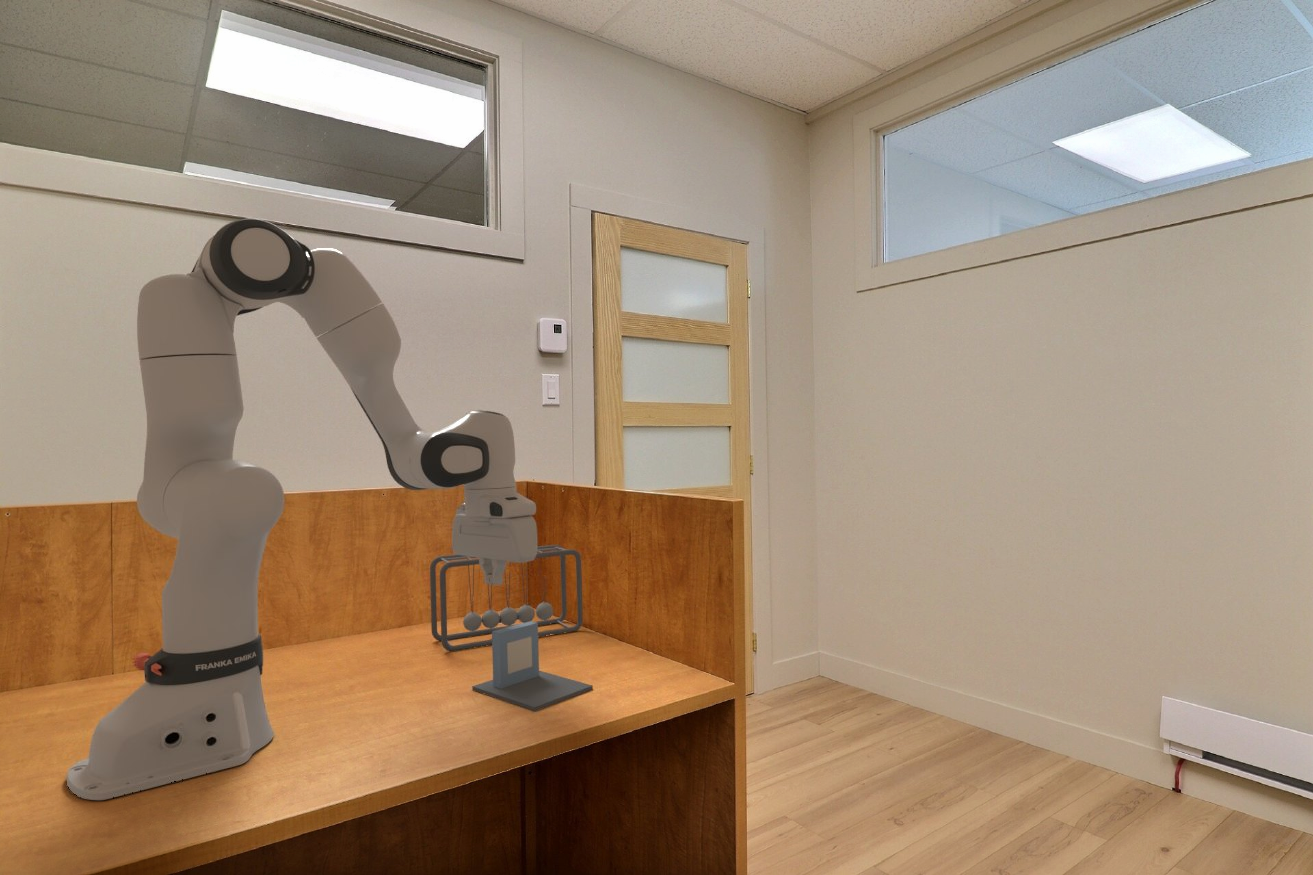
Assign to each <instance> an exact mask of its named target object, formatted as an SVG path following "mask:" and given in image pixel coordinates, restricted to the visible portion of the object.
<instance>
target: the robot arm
mask: <svg viewBox="0 0 1313 875" xmlns="http://www.w3.org/2000/svg"><path fill="white" fill-rule="evenodd" d="M138 296H139V297H138V303H137V304H138V305H137V315H136V316H137V317H136V322H137V323H136V330H137V331H136V332H137V333H136V335H137V337H136V338H137V349H138V350H137V351H138V358H139V359H138V360H139V365H140V374H141V380H142V387H143V396H144V404H145V410H146V412H145V414H146V441H145V442H146V443H145V453H144V463H143V464H144V465H143V480H142V482H141V485H140V486H139V488H138V492H137V496H136V505H137V510H138V513H139V514H140V517H141V518H142V519H143V520H144V521H145V522H146V523H147V524H148V525H149V526H151V528H153V529H155V530H156V531H158V532H159V533H161V534H163V535H164V536H167V537H171V538H174V539H177V546H176V550H175V551H176V552H175V554H174V555H175V557H174V560H173V565H172V568H171V572H170V574H169V578H168V579H167V581H166V583H165V584H164V586H163V587H162V592H161V622H162V625H161V628H162V630H161V633H162V647H161V649H160V650H158V651H157V652H156V653H154V654H153V655H151V654H149V653H147V652H140V653H138V654H136V655H135V657H133V659H132V664H133V666H134V667H135V669H138V670H140V671H144V674H143V675H144V681H145V682H144V683H142V685H140V686H139V687H138V688H137V689H136V690H135V691H133V692H132V693H130V695H129V696H127V697H126V698H125V699H124V700H122V702H120V703H119V704H117V705H116V706H115V707H114V708H113V709H111V710H110V711H109V712H108V713H107V714H105V715H104V716H103V717H102V718H101V719H100V720H99V721H98V723H97V725H96V727H95V728H94V731H93V734H92V737H91V741H90V745H89V751H88V757H87V758H83V759H82V760H78V761H77V762H75V763H74V764H72V766H70V767H69V769H68V770H67V772H66V779H65V782H66V781H67V785H66V787H67V786H68V787H69V789H70V790H71V791H72V792H73V793H74V794H76V795H77V796H76V795H75V796H76V797H79V798H80V797H81V799H85V800H91V801H104V800H110V799H113V797H114V798H117V797H121V796H125V795H129V794H133V793H137V792H140V790H141V791H144V790H149V789H152V788H156V787H160V786H163V785H168V784H171V782H172V783H175V782H174V781H176V782H179V781H182V779H183V780H187V779H191V778H195V777H199V776H203V775H206V773H207V774H209V773H211V774H212V773H214V772H218V771H222V770H225V769H229V768H233V767H238V766H240V765H243V764H245V763H246V762H248V761H249V760H250V758H251V757H252V755H253V754H254V753H255V752H257V751H258V750H260V749H261V748H263V747H265V746H266V745H268V744H269V743H270V741H272V739H273V738H274V737H275V734H274V730H273V728H272V725H271V723H270V718H269V716H268V712H267V708H266V703H265V699H264V693H263V692H264V691H263V685H262V675H263V667H264V647H263V646H264V645H263V643H262V642H263V641H262V636H261V635H260V634H259V612H258V611H259V608H258V607H259V601H258V597H259V595H258V594H259V593H258V592H259V591H258V590H259V578H260V570H261V565H262V562H263V556H264V553H265V549H266V545H267V542H268V538H269V535H270V532H271V531H272V530H273V528H274V526H276V524H277V523H278V522H279V520H280V518H281V516H282V514H283V511H284V508H285V493H284V489H283V486H282V484H281V483H280V480H278V478H277V477H276V476H275V475H274V474H273V473H272V472H271V471H269V470H267V469H265V468H263V467H261V466H258V465H257V464H254V463H251V462H249V461H245V460H242V459H233V455H234V454H233V453H234V446H235V438H236V434H237V428H238V426H239V423H240V422H241V420H242V418H243V415H244V402H243V392H242V387H241V386H242V384H241V378H240V370H239V363H238V355H237V354H238V353H237V349H236V348H237V347H236V342H235V337H234V330H235V329H234V328H235V322H236V318H237V316H241V315H244V314H248V313H252V312H255V311H258V310H260V309H262V308H264V307H267V306H270V305H272V304H274V303H282V304H284V305H287V306H288V307H290V308H291V309H293V311H296V312H297V313H298V314H299V316H300V317H301V318H302V319H304V321H305V322H306V324H307V326H308V327H309V329H310V330H311V332H312V334H313V335H314V337H315V338H316V340H317V341H318V343H319V344H320V346H321V347H322V348H323V350H324V351H325V352H326V354H327V355H328V357H329V358H330V359H331V361H332V363H333V365H335V367H336V368H337V369H338V371H339V372H340V374H341V375H342V377H343V379H345V381H346V383H347V384H348V386H349V388H350V389H351V391H352V394H354V397H355V399H356V400H357V402H358V403H359V405H360V408H361V409H362V411H363V412H364V413H365V416H366V417H367V419H368V420H369V422H370V424H371V426H372V427H373V429H374V431H375V432H376V434H377V437H378V438H379V439H380V441H381V443H382V447H383V450H384V454H385V458H386V465H387V469H388V471H389V474H390V475H391V477H392V479H393V480H394V481H395V482H396V483H397V484H398V485H399V486H401V487H402V488H405V489H407V490H411V491H423V490H428V489H429V490H445V489H446V490H448V489H454V488H456V487H459V486H463V492H464V493H463V494H464V503H460V504H459V506H458V508H457V509H456V510H455V516H454V518H453V521H452V531H451V549H452V551H453V553H454V554H453V555H455V554H456V555H463V556H470V557H478V558H477V559H479V564H478V565H479V567H480V568H481V571H482V573H483V577H484V578H483V579H484V584H486V585H492V586H500V585H501V586H502V585H503V583H504V579H503V574H505V571H506V567H507V565H508V562H509V563H510V562H511V563H518V564H521V563H522V564H523V563H527V562H528V563H529V562H532V561H534V560H535V559H536V558H535V557H536V555H537V547H538V528H537V527H538V526H537V522H536V520H535V518H534V517H533V516H534V515H535V514H536V513H537V505H536V502H535V501H533V500H531V499H529V498H527V497H526V496H524V495H522V494H521V493H519V492H517V482H516V480H515V476H514V475H515V474H514V473H515V472H514V470H515V469H514V468H515V464H516V447H515V437H514V432H513V428H512V427H513V426H512V423H511V421H510V419H509V418H508V417H507V416H505V415H504V414H502V413H500V412H496V411H492V410H479V409H478V410H475V409H474V410H470V411H467V412H466V413H465V415H463V416H462V417H461V418H459V419H458V420H456V421H455V422H453V423H451V424H448V425H447V426H445V427H443V428H440V429H437V430H435V431H429V432H428V431H426V430H425V429H423V428H421V427H420V426H419V425H418V424H417V423H416V422H415V420H414V418H413V416H412V415H411V413H410V410H409V409H408V407H407V406H406V403H405V402H404V400H403V399H402V397H401V395H400V393H399V391H398V390H397V388H396V384H395V381H394V368H395V364H396V363H397V360H398V358H399V355H400V353H401V348H402V347H401V346H402V339H401V336H400V333H399V330H398V328H397V326H396V324H395V321H394V319H393V317H392V315H391V313H390V312H389V310H388V308H387V307H386V306H385V304H384V303H383V301H382V300H381V298H380V297H379V294H378V293H377V292H376V291H375V289H374V287H373V286H372V285H371V284H370V283H369V281H368V280H367V279H366V277H365V276H364V275H363V273H362V272H361V271H360V270H359V269H358V268H357V266H356V265H355V264H354V263H353V262H352V261H351V260H350V259H349V258H348V256H347V255H345V254H344V253H343V252H341V251H339V250H337V249H335V248H328V247H327V248H326V247H324V248H323V247H322V248H314V249H310V248H309V247H308V246H307V245H306V244H304V243H302V242H300V241H299V240H297V239H296V238H294V237H292V236H291V235H290V234H288V233H287V231H285V230H283V229H282V228H280V227H278V226H277V225H275V224H274V223H271V222H269V221H267V220H262V219H259V218H242V219H236V220H233V221H231V222H229V223H226V224H225V225H224V226H222V227H220V228H219V230H217V232H216V233H215V234H214V235H212V236H211V238H209V239H208V241H207V242H206V243H205V245H204V247H203V248H202V251H201V253H200V255H199V257H198V258H197V260H196V262H195V263H194V266H193V268H192V270H191V272H189V273H186V274H184V273H183V274H180V273H176V274H175V273H173V274H166V275H161V276H159V277H156V278H154V279H153V278H152V279H151V280H150V281H147V283H146V284H144V285H143V286H142V288H141V290H140V292H139V295H138ZM504 570H505V571H504ZM68 787H67V788H68ZM69 789H68V790H69ZM70 790H69V791H70ZM71 791H70V792H71ZM72 792H71V793H72ZM132 792H133V793H132ZM73 793H72V794H73ZM74 794H73V795H74ZM124 794H125V795H124Z"/></svg>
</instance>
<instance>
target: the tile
mask: <svg viewBox="0 0 1313 875" xmlns="http://www.w3.org/2000/svg"><path fill="white" fill-rule="evenodd" d="M517 624H518V625H516V624H513V625H514V626H510V625H509V626H510V627H506V628H503V629H499V630H495V631H492V633H491V640H492V645H491V647H492V649H491V652H492V653H491V654H492V680H493V686H494V687H497V688H500V689H501V688H504V687H507V686H510V685H513V684H516V683H519V682H522V681H525V680H528V679H531V678H534V677H537V676H539V671H540V662H539V661H540V659H539V658H540V654H539V638H538V632H539V626H538V623H536V621H530V622H526V623H523V622H521V623H517Z"/></svg>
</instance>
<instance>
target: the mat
mask: <svg viewBox="0 0 1313 875" xmlns="http://www.w3.org/2000/svg"><path fill="white" fill-rule="evenodd" d="M471 688H472V691H474V690H475V692H477V691H479V692H478V693H479V694H483V693H485V694H484V695H486V694H487V696H489V695H490V696H489V697H492V698H494V697H496V698H495V699H497V698H498V700H500V699H501V701H503V702H506V701H507V703H508V704H509V703H510V704H513V705H516V706H518V707H520V708H521V707H522V708H524V709H526V710H529V711H533V712H536V711H539V710H541V709H544V708H547V707H549V706H552V705H554V704H558V703H560V702H563V701H565V700H568V699H571V698H573V697H576V696H579V695H581V694H584V693H586V692H589V691H592V690H593V688H594V686H593V685H591V684H588V683H586V682H581V681H577V680H574V679H572V678H568V677H564V676H561V675H560V676H559V675H556V674H553V673H551V672H550V673H549V672H546V671H543V670H539V676H537V677H534V678H531V679H528V680H525V681H522V682H519V683H516V684H513V685H510V686H507V687H504V688H501V689H500V688H497V687H494V686H493V679H491V680H487V681H485V682H481V683H479V684H475V685H472V687H471Z"/></svg>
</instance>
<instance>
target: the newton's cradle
mask: <svg viewBox="0 0 1313 875" xmlns="http://www.w3.org/2000/svg"><path fill="white" fill-rule="evenodd" d="M569 555H572V556H574V557H575V567H576V568H575V571H576V572H575V574H576V575H575V576H576V603H577V604H576V606H577V607H576V609H577V622H576V624H575V625H574V626H569V625H567V624H566V623H564V620H565V619H566V617H567V612H568V609H567V606H568V604H567V577H566V576H567V574H566V572H567V570H566V568H567V567H566V556H569ZM549 557H550V558H551V557H552V558H553V557H559V560H560V561H559V562H560V585H561V586H560V589H561V590H560V591H561V592H560V593H561V596H560V598H561V614H560V615H559V617H557V618H556V617H555V618H552V619H551V617H552V616H553V615H554V608H553V606H552V605H551V603H548V602H546V578H544V579H543V580H544V586H543V582H542V574H541V573H539V577H540V578H539V579H540V586H541V588H540V589H544V591H543V590H541V595H542V602H541V603H539V604H538V605H537V607H536V608H535V609H534V608H533V607H532V606H531V605H528V603H527V602H528V585H526V591H525V584H524V580H522V588H523V591H525V592H523V599H524V600H523V601H524V604H523V605H522V606H520V607H518V610H516V609H515V608H513V607H510V603H509V598H506V607H505V608H503V609H501V611H500V613H498V612H497V611H496V610H494V609H492V608H491V604H492V599H493V598H492V597H493V596H492V592H493V585H491V586H489V585H490V584H487V592H488V596H490V597H488V604H489V605H488V607H489V609H488V610H486V611H485V612H484V613H483V614H482V615H480V613H477V612H474V602H470V612H469V613H467V614H466V615H465V616H464V617H463V622H462V624H463V625H462V626H463V627H464V628H465V629H466V630H467V631H465V632H464V631H463V632H458V633H457V632H456V633H451V634H448V619H447V617H448V614H447V576H446V574H447V571H448V569H450V568H456V567H466V566H467V568H468V572H470V566H473V570H472V571H473V573H472V591H471V588H469V596H470V600H472V595H474V589H475V588H474V587H475V586H474V585H475V583H474V582H475V578H474V577H475V565H480V564H479V558H478V557H470V556H463V555H456V554H447V555H439V556H437V557H435V558H433V560H432V561H431V562H430V566H429V581H430V584H429V585H430V621H431V622H430V624H431V625H430V626H431V635H432V637H433V638H434V639H435V640H436V641H440V643H441V646H442V647H443V649H445V650H446V651H448V652H458V650H459V651H464V650H463V649H465V650H471V649H475V648H474V647H478V648H482V647H481V646H484V647H487V646H486V645H490V646H492V639H487V640H480V641H474V642H468V643H461V644H455V645H452V643H450V642H449V641H450V640H458V639H464V637H465V638H469V637H468V636H472V637H477V636H476V635H478V636H482V635H481V634H485V635H490V634H489V633H491V634H492V631H495V630H499V629H503V628H506V627H510V626H514V625H518V624H519V623H517V624H515V623H516V622H517V620H519V621H520V622H521V623H526V622H530V621H531V622H533V619H534V618H535V616H536V617H537V618H538V619H539V620H538V621H537V620H536V621H535V622H536V623H538V627H541V626H540V625H543V626H546V625H545V624H550V623H556V624H560V625H562V626H564V627H561V628H556V629H550V630H544V631H538V636H545V637H547V636H546V635H550V634H558V635H560V634H559V633H564V632H570V633H573V632H572V631H575V632H577V631H579V630H580V629H581V628H582V626H583V622H584V612H583V611H584V610H583V584H582V583H583V578H582V577H583V576H582V573H583V572H582V557H581V554H580V552H579V551H578V550H576V549H572V548H571V549H566V548H563V547H562V546H561V545H559V544H549V545H540V546H538V545H537V555H536V557H535V559H537V561H538V562H537V563H538V569H539V572H541V566H540V565H541V564H540V558H541V559H542V558H549ZM441 562H445V563H444V564H443V565H442V566H441V567H440V570H439V592H440V593H439V595H440V596H439V598H440V599H439V600H440V601H439V602H440V634H439V632H438V614H437V613H438V609H437V608H438V606H437V576H436V575H437V573H436V568H437V565H438V564H439V563H441ZM511 563H512V562H509V566H512V565H511ZM526 563H527V564H526V579H528V578H529V577H528V574H529V572H528V571H529V561H528V562H526ZM520 565H521V566H520V567H521V568H523V562H522V563H520ZM504 572H506V569H505V570H504ZM508 576H509V577H508V581H509V582H508V583H509V584H508V586H505V594H506V597H510V592H511V591H510V590H511V588H510V587H511V572H509V575H508ZM521 576H522V579H524V572H523V569H521ZM504 581H505V583H504V584H505V585H507V578H506V573H504ZM468 584H469V586H471V577H470V574H468ZM489 587H490V588H489ZM543 587H544V588H543ZM507 589H508V590H507ZM525 593H526V594H525ZM500 622H501V624H503V625H504V626H503V625H502V626H499V627H497V626H498V625H499V623H500ZM482 625H483V626H484V627H485V629H479V628H480V627H481V626H482ZM550 625H551V624H550ZM576 630H577V631H576ZM564 634H565V633H564ZM470 648H471V649H470Z"/></svg>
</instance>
